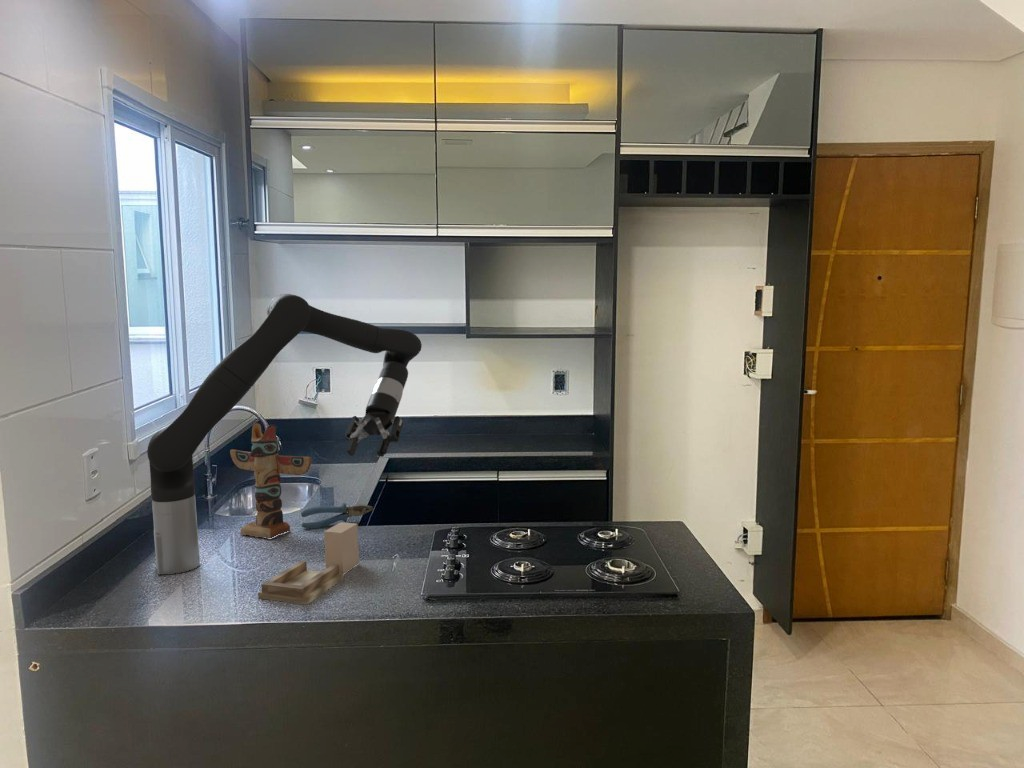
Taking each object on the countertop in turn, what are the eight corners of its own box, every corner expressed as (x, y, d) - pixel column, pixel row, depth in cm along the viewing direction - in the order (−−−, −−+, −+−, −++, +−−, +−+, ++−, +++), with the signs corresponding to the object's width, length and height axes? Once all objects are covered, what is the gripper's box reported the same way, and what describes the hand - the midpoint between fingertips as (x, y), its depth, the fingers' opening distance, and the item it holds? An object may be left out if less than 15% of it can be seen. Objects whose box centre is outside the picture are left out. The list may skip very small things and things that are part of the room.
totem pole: (216, 531, 194) (209, 424, 191) (237, 523, 201) (230, 420, 198) (296, 544, 182) (290, 430, 179) (316, 535, 189) (310, 425, 185)
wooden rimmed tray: (307, 604, 145) (306, 589, 144) (258, 598, 148) (257, 583, 148) (343, 579, 158) (342, 565, 158) (297, 573, 162) (296, 560, 161)
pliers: (372, 518, 204) (371, 498, 203) (374, 520, 202) (373, 500, 201) (301, 528, 195) (300, 508, 194) (302, 530, 193) (301, 510, 193)
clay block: (343, 575, 160) (341, 532, 159) (326, 573, 162) (324, 531, 161) (359, 564, 167) (357, 523, 166) (342, 562, 168) (340, 522, 167)
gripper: (354, 391, 179) (332, 446, 171) (403, 390, 174) (383, 447, 165) (368, 407, 185) (347, 461, 176) (415, 407, 180) (397, 463, 171)
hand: (365, 454), depth 171 cm, fingers open, 8 cm apart
